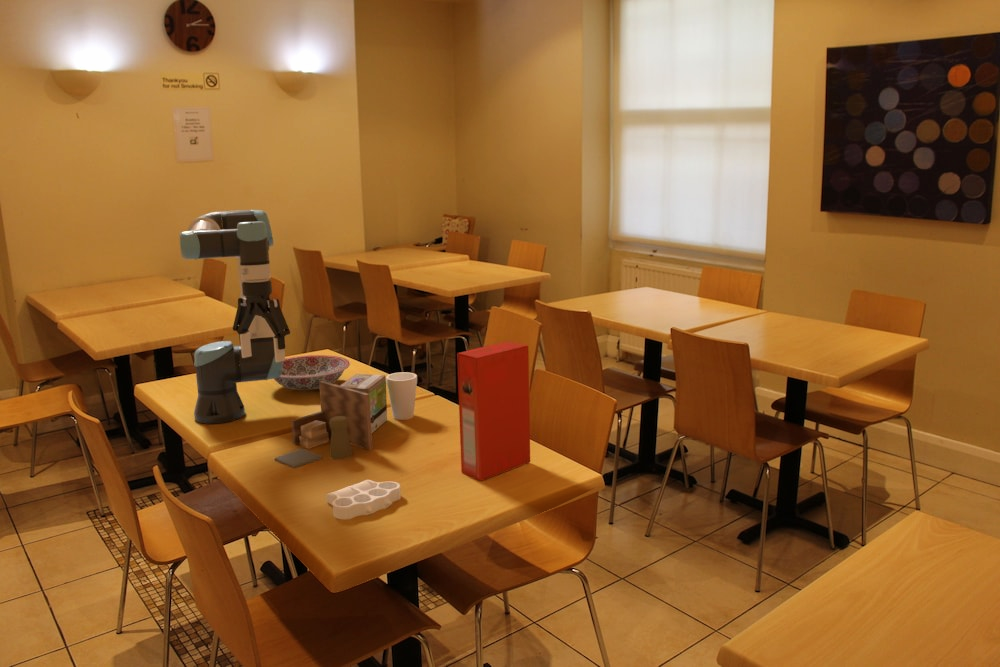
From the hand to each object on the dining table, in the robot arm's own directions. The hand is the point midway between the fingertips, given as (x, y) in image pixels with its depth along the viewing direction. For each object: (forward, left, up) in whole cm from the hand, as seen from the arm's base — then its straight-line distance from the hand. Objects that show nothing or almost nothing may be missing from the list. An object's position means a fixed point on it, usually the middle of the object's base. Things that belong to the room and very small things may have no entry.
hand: (263, 359), depth 221 cm
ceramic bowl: (-45, +46, -27) cm, 70 cm away
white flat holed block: (+45, -4, -28) cm, 53 cm away
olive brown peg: (+16, +12, -27) cm, 34 cm away
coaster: (+9, +3, -27) cm, 29 cm away
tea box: (+3, +31, -27) cm, 41 cm away
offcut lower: (+2, +13, -27) cm, 30 cm away
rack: (+8, +14, -27) cm, 32 cm away
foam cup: (+5, +45, -27) cm, 53 cm away
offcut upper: (+2, +13, -24) cm, 28 cm away
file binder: (+55, +32, -27) cm, 69 cm away
